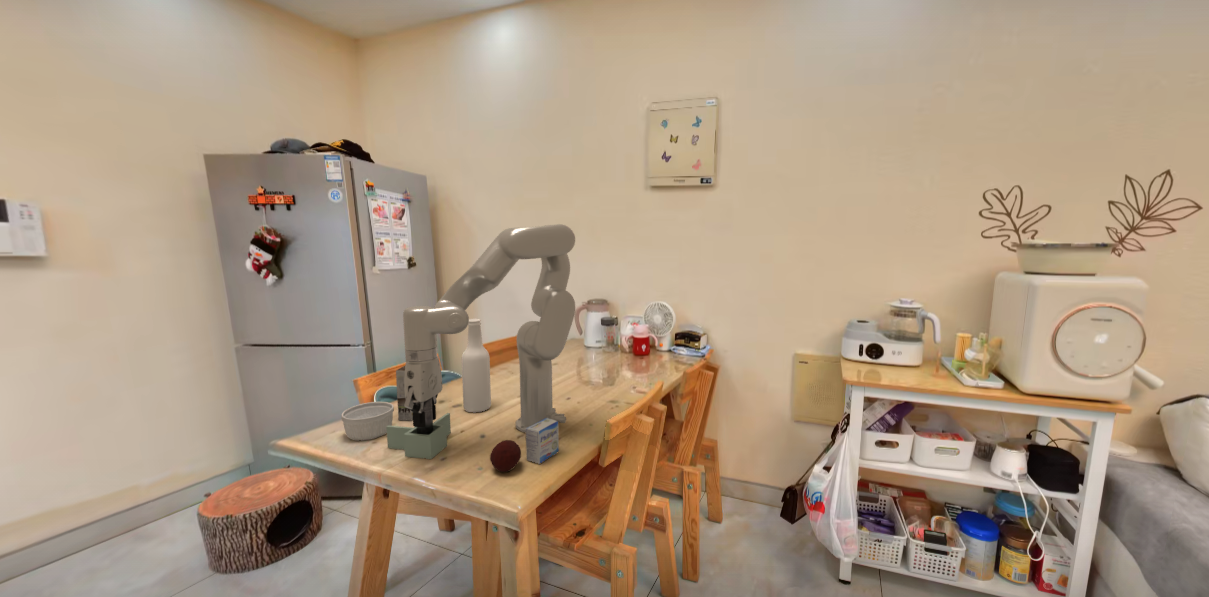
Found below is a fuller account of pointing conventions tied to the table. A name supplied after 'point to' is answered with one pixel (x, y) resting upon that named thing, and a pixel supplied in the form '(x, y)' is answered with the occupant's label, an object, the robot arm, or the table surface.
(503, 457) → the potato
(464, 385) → the alcohol
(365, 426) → the ramekin
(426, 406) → the cylindrical canister
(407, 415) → the coffee box
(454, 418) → the table surface
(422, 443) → the grey-green frame piece
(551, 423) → the medicine box
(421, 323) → the robot arm
